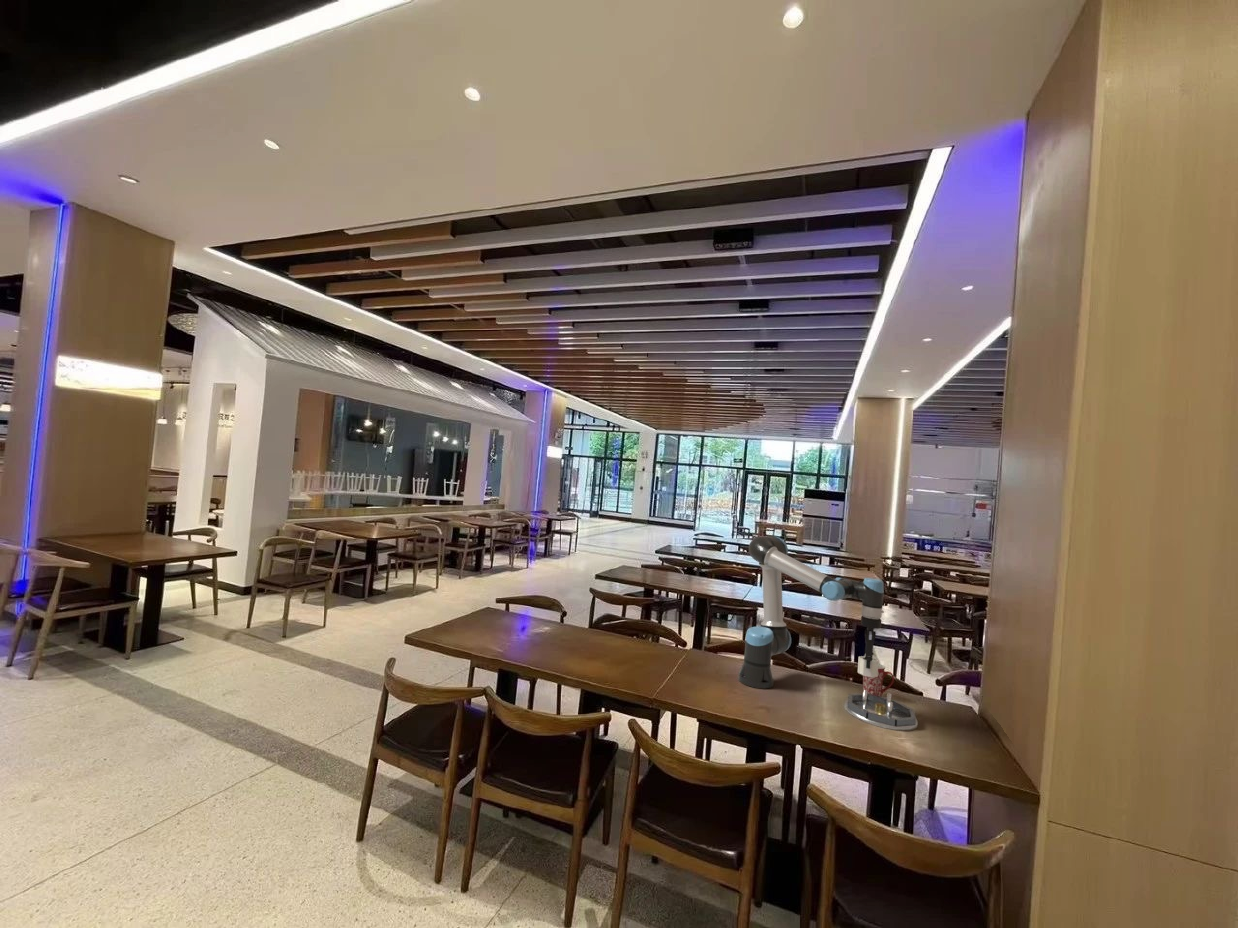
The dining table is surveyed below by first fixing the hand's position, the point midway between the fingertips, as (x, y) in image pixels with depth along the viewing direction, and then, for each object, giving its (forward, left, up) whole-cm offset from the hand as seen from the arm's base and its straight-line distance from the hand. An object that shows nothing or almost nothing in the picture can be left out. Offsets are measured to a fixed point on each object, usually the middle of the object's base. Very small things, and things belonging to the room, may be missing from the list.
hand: (867, 673), depth 215 cm
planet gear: (0, 0, 0) cm, 0 cm away
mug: (+5, +22, -16) cm, 27 cm away
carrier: (+6, 0, -15) cm, 16 cm away
